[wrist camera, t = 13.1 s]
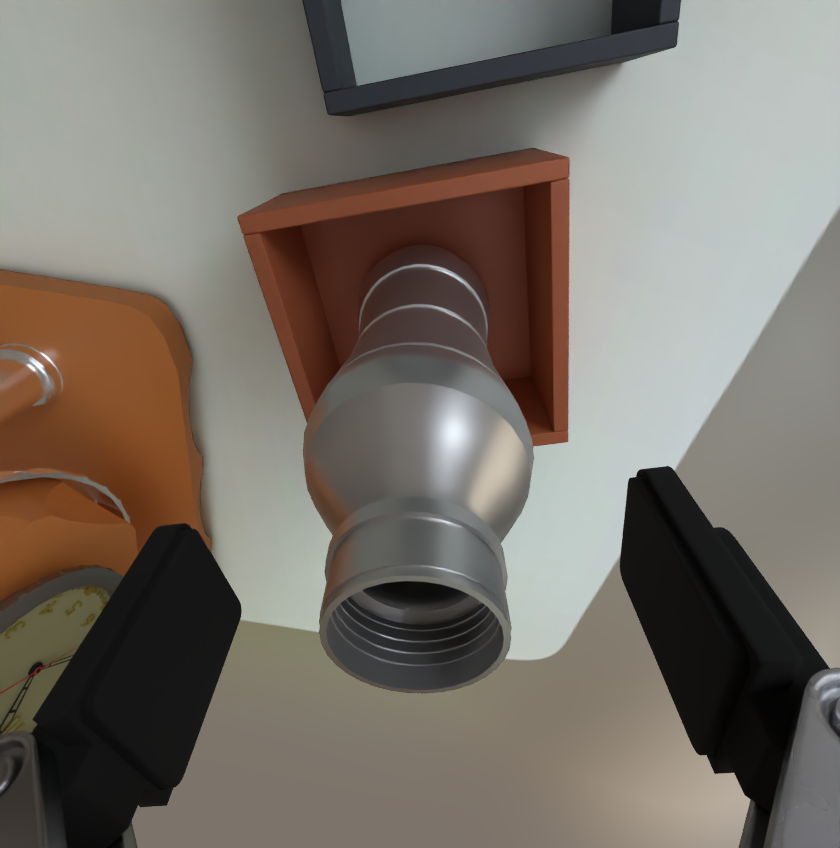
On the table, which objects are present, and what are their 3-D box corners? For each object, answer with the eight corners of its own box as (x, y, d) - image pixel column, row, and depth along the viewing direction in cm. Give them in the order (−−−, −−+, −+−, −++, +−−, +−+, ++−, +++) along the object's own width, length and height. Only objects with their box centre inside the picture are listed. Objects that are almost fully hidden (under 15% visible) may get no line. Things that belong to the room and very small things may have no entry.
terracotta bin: (281, 193, 24) (235, 216, 18) (534, 147, 22) (570, 156, 17) (342, 407, 30) (323, 472, 25) (541, 380, 29) (568, 442, 23)
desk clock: (79, 608, 41) (-162, 947, 24) (-46, 258, 25) (-989, 537, 8) (222, 624, 42) (86, 960, 25) (190, 296, 26) (-237, 614, 9)
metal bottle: (401, 373, 28) (362, 754, 11) (339, 270, 25) (154, 586, 8) (503, 325, 26) (635, 689, 10) (450, 208, 23) (510, 444, 6)
